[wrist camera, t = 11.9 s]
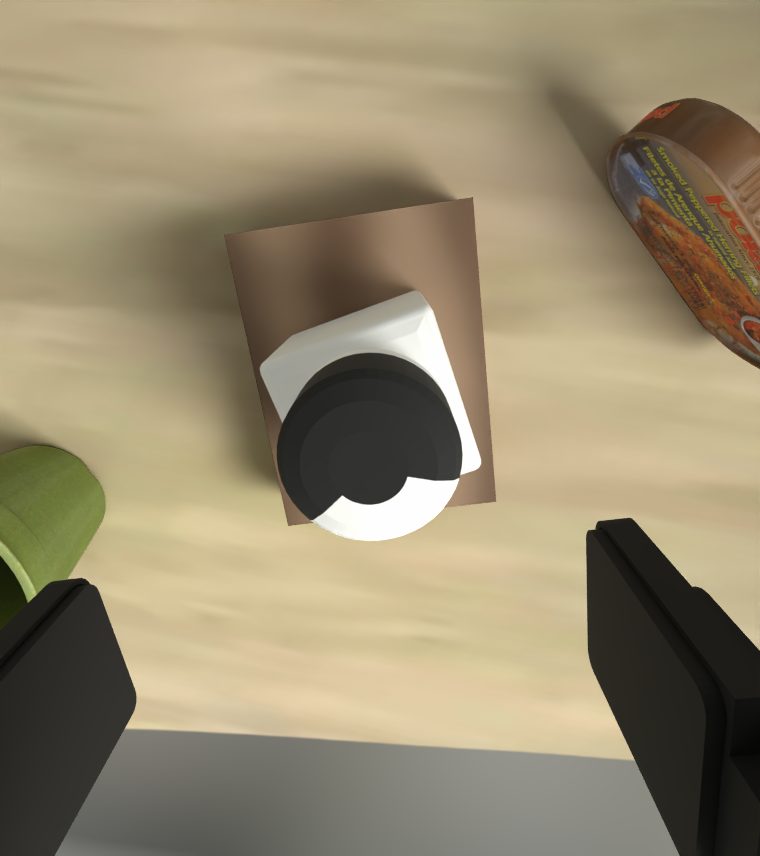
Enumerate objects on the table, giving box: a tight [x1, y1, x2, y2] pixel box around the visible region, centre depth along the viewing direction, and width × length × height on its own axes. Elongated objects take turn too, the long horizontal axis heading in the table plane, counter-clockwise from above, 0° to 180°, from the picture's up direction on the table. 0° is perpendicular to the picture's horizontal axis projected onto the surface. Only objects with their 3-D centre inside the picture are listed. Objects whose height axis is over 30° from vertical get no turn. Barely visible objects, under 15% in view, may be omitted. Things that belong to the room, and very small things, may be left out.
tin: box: [606, 98, 760, 369], centre depth 25 cm, size 15×3×8 cm, turn 42°
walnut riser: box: [224, 197, 496, 526], centre depth 30 cm, size 12×16×4 cm
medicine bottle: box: [260, 290, 481, 541], centre depth 22 cm, size 7×7×12 cm
